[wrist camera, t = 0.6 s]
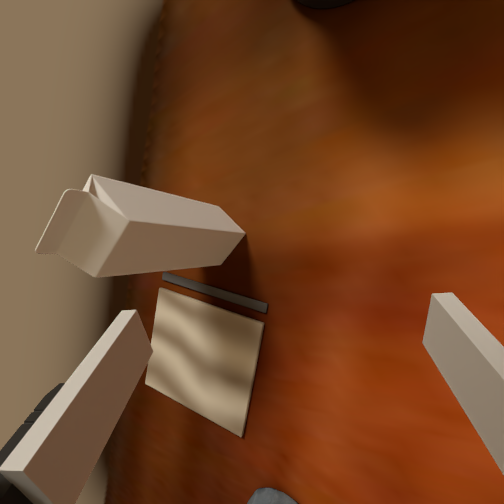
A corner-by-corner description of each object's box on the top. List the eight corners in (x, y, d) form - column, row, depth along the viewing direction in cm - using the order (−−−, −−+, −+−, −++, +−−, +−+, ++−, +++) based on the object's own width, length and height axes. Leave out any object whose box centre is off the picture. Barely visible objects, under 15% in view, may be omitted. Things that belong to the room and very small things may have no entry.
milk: (196, 237, 41) (16, 226, 21) (219, 205, 39) (46, 160, 19) (221, 266, 39) (50, 283, 19) (247, 233, 37) (87, 215, 17)
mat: (164, 271, 43) (161, 272, 43) (268, 303, 36) (266, 304, 35) (148, 381, 45) (145, 383, 45) (243, 434, 38) (241, 437, 37)
